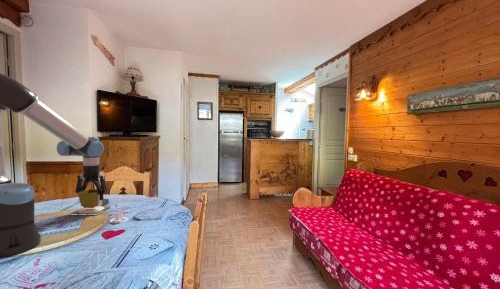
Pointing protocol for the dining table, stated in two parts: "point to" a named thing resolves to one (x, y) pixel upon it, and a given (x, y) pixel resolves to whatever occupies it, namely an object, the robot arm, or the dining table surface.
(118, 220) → the teacup and saucer
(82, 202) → the flower pot
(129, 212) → the dining table surface
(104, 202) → the button housing
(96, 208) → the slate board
